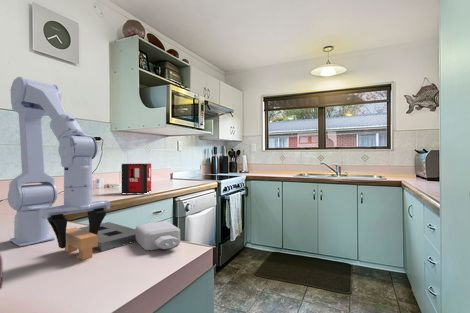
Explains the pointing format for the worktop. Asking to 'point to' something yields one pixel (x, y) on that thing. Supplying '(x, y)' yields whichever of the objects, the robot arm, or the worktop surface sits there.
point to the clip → (81, 242)
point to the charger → (157, 235)
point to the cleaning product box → (136, 178)
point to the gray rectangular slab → (113, 235)
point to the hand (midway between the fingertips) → (78, 243)
